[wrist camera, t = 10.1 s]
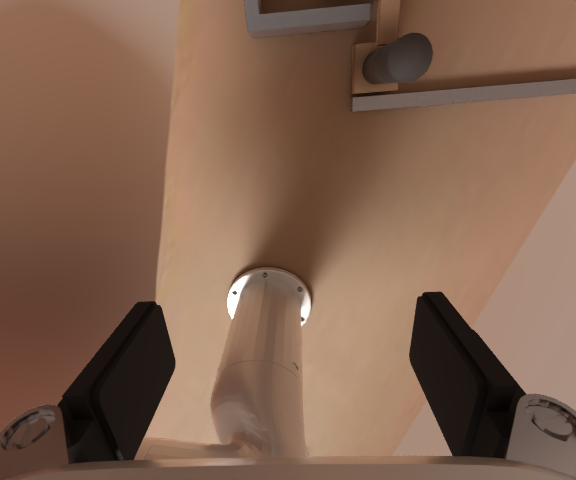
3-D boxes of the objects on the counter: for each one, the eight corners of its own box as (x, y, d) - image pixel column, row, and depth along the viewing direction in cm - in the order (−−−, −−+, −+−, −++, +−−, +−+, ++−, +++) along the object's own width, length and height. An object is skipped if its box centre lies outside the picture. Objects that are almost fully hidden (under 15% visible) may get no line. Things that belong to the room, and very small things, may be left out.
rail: (572, 92, 33) (581, 92, 32) (350, 111, 35) (352, 111, 34) (576, 78, 33) (586, 78, 32) (350, 97, 34) (352, 97, 33)
